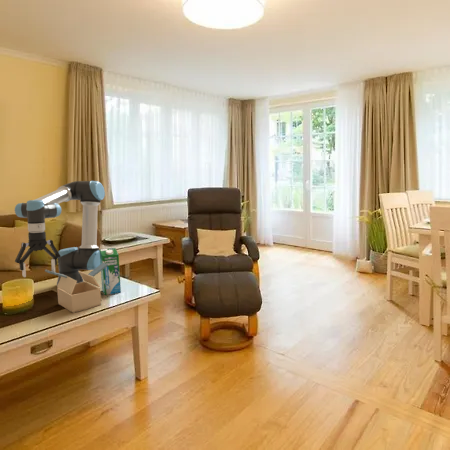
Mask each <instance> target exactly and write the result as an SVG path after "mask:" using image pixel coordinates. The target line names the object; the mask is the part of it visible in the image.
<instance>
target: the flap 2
mask: <svg viewBox="0 0 450 450" xmlns="http://www.w3.org/2000/svg"><path fill="white" fill-rule="evenodd" d="M107 266H108V264H105V263H102V264H101V265H99V266H98V267H97V268H95V269H94V270H90V272H88V273H86V272H83V271H82V270H79V271H78V272H79V273H80V275H81V276H82V278H83V282H87V283H89V284H91V285H94V286H96V287H98V288H100V284H99V282H98V281H97V280H96V279H95V276H97V275H98V274H99V273H101V271H102V270H103V269H104V268H106V267H107Z"/></svg>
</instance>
